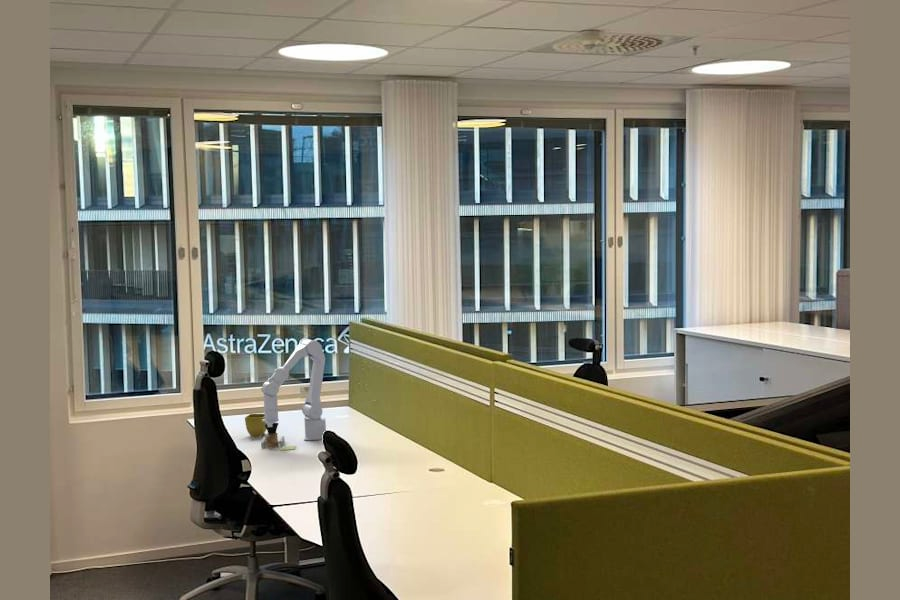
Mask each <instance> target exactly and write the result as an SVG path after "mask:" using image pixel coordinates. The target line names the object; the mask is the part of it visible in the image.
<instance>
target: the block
mask: <svg viewBox="0 0 900 600" xmlns="http://www.w3.org/2000/svg"><path fill="white" fill-rule="evenodd" d="M265 437H266V444H265V446H266V448H267V449H269V448H271V449H272V448H278V446H279V444H278V441H279V439H278V432H276V433H268V432H267V433H266V434H265Z"/></svg>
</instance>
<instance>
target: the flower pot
mask: <svg viewBox="0 0 900 600" xmlns="http://www.w3.org/2000/svg"><path fill="white" fill-rule="evenodd" d="M262 419H265V414H264V413H250V414H247V416H245V417H244V422H245V428H246V431H247V432H248V434H249V435H250V436H251V437H254V436H255V437H258V436H259V437H261V436H263V435H264V434H265V433H266V431H267V429H266V427H265V424H267V423H266V422H262Z"/></svg>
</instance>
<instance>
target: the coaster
mask: <svg viewBox="0 0 900 600" xmlns="http://www.w3.org/2000/svg"><path fill="white" fill-rule="evenodd" d="M296 447H297V446H296V445H283V446H281V447H280V450H279V451H295V449H296Z"/></svg>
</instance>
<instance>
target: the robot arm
mask: <svg viewBox="0 0 900 600" xmlns="http://www.w3.org/2000/svg"><path fill="white" fill-rule="evenodd" d="M324 353H325V352H324V351H323V345H322V344H321V343H320V342H318V341H317V340H313V339H309V338H304V339H303V340H301V341H300V343H299V344H298V345H297V346H296V348H295V349H294V351H293V352H292V353H291V354H290V356H289V358H288V359H287V360H286V362H285V363H284V364H283V366H280V367H278V368H275V369H274V373H273V374H272V375H270V376H271V377H268V378H267V381H265V382H264V383H263V384H262V387H261V388H260V389H261V392H262V393H263V409H264V411H263V412H264V413H263V414H265V419H262V422H266V423H267V424H265V427H266V431H267V434H268V433H277V429H278V426H279V421H280V420H279V410H278V409H279V408H278V406H279V405H278V393H279V392H280V387H281V386H282V384H284V382H286V380H287V379H288V378H289V376H290V370H292V369H293V368H294V366H295V365H296V364H297V363H298V362H299V361H300V360H301V358H306V357H309V358H310V359H311V360H312V367H311V373H310V380H309V381H310V382H309V386H308V394H307V397H306V398H305V400H304V403H303V405H302V407H301V408H302V409H301V412H302V414H303V415H304V417H303V418H304V420H303V421H304V438H303V441H317V440H318V441H320V440H323V439H322V435H323V432H324V431H327V423H326V421H327V420H326V417H322V415H323V408H322V404H323V403H322V400H321V392H322V385H323V379H324V372H325V365H326V364H325V363H326V356H325V354H324Z"/></svg>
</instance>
